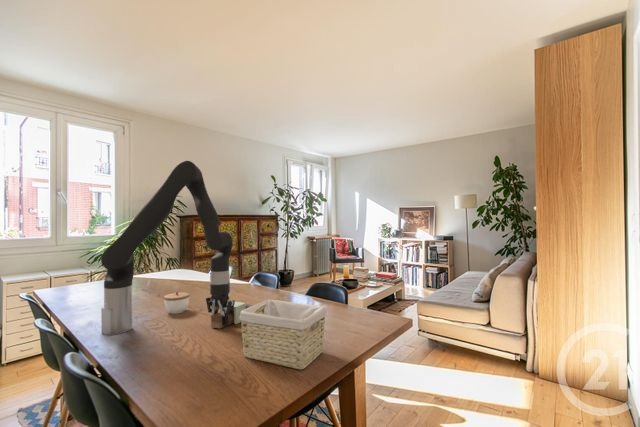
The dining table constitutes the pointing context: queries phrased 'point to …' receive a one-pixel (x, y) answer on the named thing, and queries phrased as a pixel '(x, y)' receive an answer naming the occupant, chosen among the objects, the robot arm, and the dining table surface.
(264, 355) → the storage basket
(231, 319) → the walnut block
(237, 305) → the sage block
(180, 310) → the lidded jar
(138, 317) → the dining table surface
